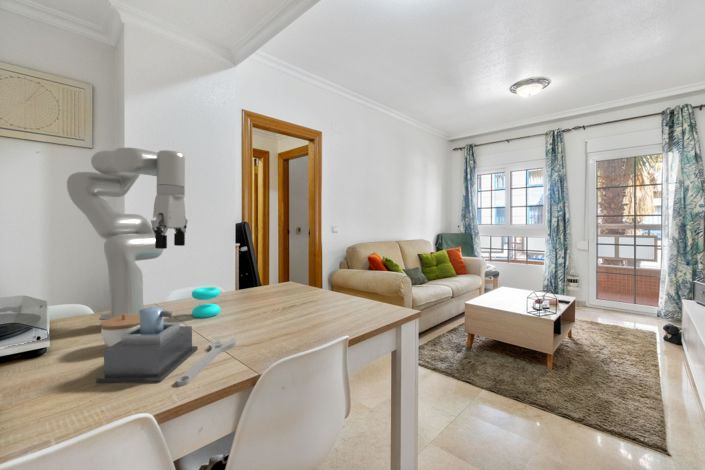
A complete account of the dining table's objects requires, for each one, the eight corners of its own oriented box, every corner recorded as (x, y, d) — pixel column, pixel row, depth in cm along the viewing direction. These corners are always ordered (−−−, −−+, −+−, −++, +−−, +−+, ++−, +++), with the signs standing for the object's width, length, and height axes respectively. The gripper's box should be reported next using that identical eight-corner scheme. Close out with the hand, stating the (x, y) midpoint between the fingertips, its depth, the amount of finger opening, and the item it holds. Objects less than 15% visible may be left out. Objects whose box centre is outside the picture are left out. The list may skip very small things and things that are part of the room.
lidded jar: (108, 342, 94) (107, 311, 93) (150, 337, 98) (149, 307, 98) (95, 356, 84) (94, 322, 84) (142, 350, 88) (142, 317, 88)
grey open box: (96, 382, 70) (95, 343, 70) (146, 350, 88) (145, 318, 88) (160, 382, 71) (159, 342, 70) (197, 349, 89) (196, 318, 88)
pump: (135, 340, 77) (134, 312, 76) (148, 333, 82) (147, 306, 81) (165, 340, 77) (164, 312, 77) (176, 333, 82) (175, 306, 82)
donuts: (185, 291, 118) (203, 286, 128) (185, 317, 119) (204, 310, 128) (208, 292, 116) (225, 287, 126) (209, 319, 116) (225, 312, 126)
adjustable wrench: (186, 388, 69) (186, 381, 69) (158, 387, 70) (158, 379, 70) (238, 343, 94) (238, 338, 94) (218, 343, 94) (218, 337, 94)
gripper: (174, 193, 106) (174, 244, 107) (139, 189, 89) (139, 249, 90) (197, 194, 106) (196, 245, 107) (166, 190, 89) (165, 250, 90)
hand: (170, 246), depth 99 cm, fingers open, 9 cm apart
